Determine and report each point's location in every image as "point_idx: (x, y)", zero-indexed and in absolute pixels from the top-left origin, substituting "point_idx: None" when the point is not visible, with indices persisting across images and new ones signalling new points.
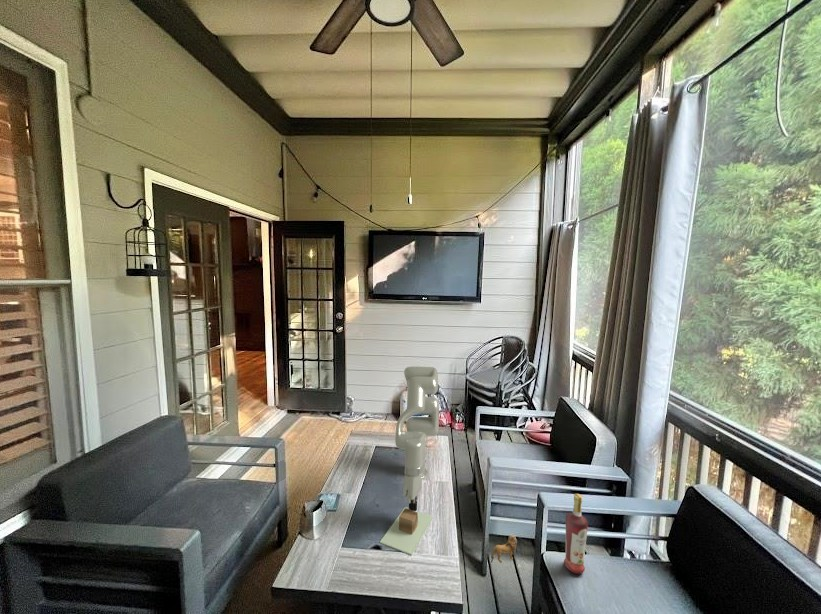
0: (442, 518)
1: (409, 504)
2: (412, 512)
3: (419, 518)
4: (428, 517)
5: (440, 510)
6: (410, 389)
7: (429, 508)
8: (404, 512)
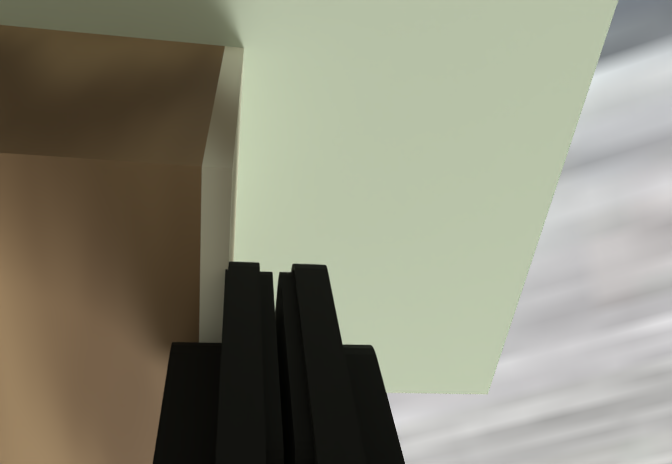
0: (491, 459)
1: (222, 385)
2: (135, 388)
3: (390, 252)
4: (449, 350)
5: (634, 408)
6: None
7: (665, 288)
8: (16, 215)
